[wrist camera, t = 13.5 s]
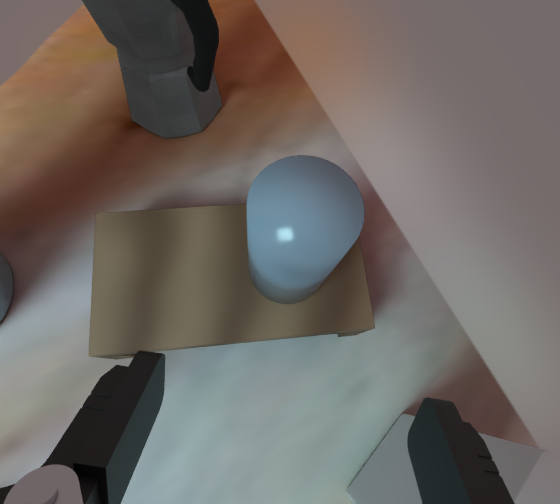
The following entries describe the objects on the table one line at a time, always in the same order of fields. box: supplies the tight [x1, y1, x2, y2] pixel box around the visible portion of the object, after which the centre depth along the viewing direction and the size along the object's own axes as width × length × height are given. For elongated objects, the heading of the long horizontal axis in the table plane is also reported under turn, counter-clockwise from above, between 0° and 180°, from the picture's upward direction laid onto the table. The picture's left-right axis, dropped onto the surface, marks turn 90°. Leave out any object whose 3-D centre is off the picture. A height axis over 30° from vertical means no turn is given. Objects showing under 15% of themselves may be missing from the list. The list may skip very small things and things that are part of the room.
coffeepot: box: [82, 0, 222, 138], centre depth 28 cm, size 15×9×18 cm, turn 37°
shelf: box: [89, 204, 375, 359], centre depth 29 cm, size 19×10×5 cm, turn 96°
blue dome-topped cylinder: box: [247, 155, 365, 304], centre depth 22 cm, size 6×6×10 cm
